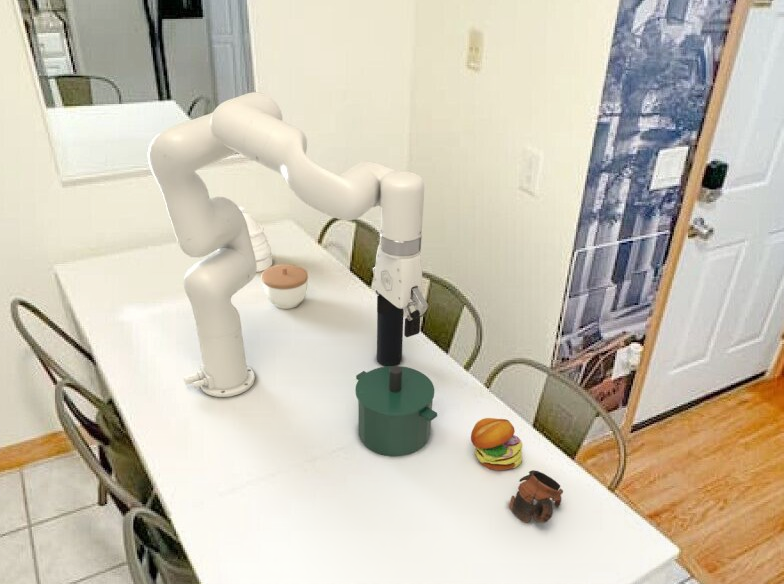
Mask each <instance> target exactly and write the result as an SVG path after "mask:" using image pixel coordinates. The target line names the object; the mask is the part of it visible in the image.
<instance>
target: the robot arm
mask: <svg viewBox="0 0 784 584" xmlns="http://www.w3.org/2000/svg"><path fill="white" fill-rule="evenodd" d="M307 149H308V138H307V136H306V133H305V132H304V131H303V130H302V129H300V128H298V127H296V126H293V125H292V124H289V123H287V122H286V121H283V114H282V111H281V108H280V106H279V105H278V103H277V102H276V100H274V99H273V98H272V97H270V96H269V95H267V94H265V93H262V92H257V91H253V92H248V93H244V94H242V95H239V96H236V97H232V98H230V99H227V100H225V101H223V102H221V103H220V104H219V105H217V106H216V108H214V110H213V112H210V113H208V114H205V115H202V116H199V117H196V118H193V119H190V120H186V121H183V122H180V123H178V124H175V125H173V126H170V127H168V128H166V129H164V130H163V131H161V132H160V133H158V134H157V135H156V136H155V137H154V138H153V139H152V140H151V142H150V144H149V147H148V150H147V151H148V152H147V160H148V164H149V167H150V170H151V173H152V176H153V177H154V179H155V181H156V183H157V185H158V188H159V190H160V192H161V194H162V198H163V200H164V204H165V208H166V211H167V213H168V217H169V220H170V222H171V226H172V229H173V232H174V235H175V238H176V241H177V243H178V246H179V248H180V250H181V251H182V252H183V253H184V254H185V255H186V256H188V257H190V258H197V259H198V258H203V257H204V258H203V259H201V260H199V261H198V262H196V263H195V264H194V265H192V266H191V267H190V268H189V269H188V270H187V272H186V273H185V276H184V278H183V290H184V292H185V294H186V297H187V300H188V301H189V304H190V307H191V311H192V315H193V317H194V318H193V319H194V322H195V328H196V332H197V339H198V343H199V349H200V356H201V360H202V365H200V366H199V369H200V370H199V371H196V373H194V374H190V375H187V376H184V377H182V379H183V382H184V384H185V385H186V386H188V385H191V384H192V386H193V388H194V389H197V388H199V387H200V389H201V391H202V392H203V393H205V394H206V395H209V396H211V397H216V398H230V397H235V396H237V395H241V394H242V393H245V392H246V391H248V390H249V389H250V388H251V387H252V386H253V385H254V384H255V381H256V376H255V372H254V370H253V369H252V368H251V367H250V366H249V365H247V362H246V361H247V359H246V352H245V345H244V337H243V330H242V323H241V316H240V313H239V311H238V309H237V307H236V306H235V304H233V303H232V297H233V296H234V295H235V294H237V293H238V292H239V291H240V290H241V289H243V288H244V287H246V286H247V285H248V284H249V283H250V282H251V281H253V279H254V278H255V276H256V274H257V272H256V270H257V265H256V259H255V255H254V251H253V246H252V243H251V239H250V235H249V231H248V227H247V223H246V220H245V217H244V215H243V213H242V211H241V210H240V208H239V207H240V206H238V205H237V204H236V203H235V202H234V201H233V200H231V199H230V198H228V197H225V196H215V197H212V198H210V195H209V190H208V187H207V186H206V183H205V182H204V180H203V179H202V177H201V176H200V175H199V174H198V173H197V172H196V171H198V170H201V169H204V168H206V167H208V166H210V165H212V164H215V163H217V162H220V161H222V160H225V159H226V158H229V157H231V156H233V155H235V154H237V153H238V154H240V155H242V156H243V157H246V158H247V159H250V160H251V161H254V162H255V163H258V164H260V165H262V166H263V167H266V168H268V169H270V170H272V171H274V172H276V173H278V174H279V175H281V176H282V177H283V179H284V180H285V183H286V184H287V185H288V187H289V189H290V190H291V191H292V192H293V193H294V194H295V196H296V197H297V198H298V199H299V200H300V201H302V202H303V203H304V204H305V205H308V206H309V207H311V208H313V209H314V210H317V211H319V212H321V213H323V214H325V215H327V216H329V217H331V218H334V219H337V220H340V221H354V220H357V219H359V218H361V217H362V216H363V215H364V214H366V213H367V212H368V211H370V210H371V209H372V208H376V207H378V206H379V243H378V246H377V251H376V256H375V264H374V267H372V273H373V278H374V279H373V282H374V285H373V286H374V289H375V294H376V295H377V296H376V305H377V306H376V314H377V313H378V314H382V313H386V312H389V311H391V310H392V304H393V305H395V306H396V307H397V308H400V309H402V308H403V310H404V314H405V317H406V318H404V326H403V337H404V338H410V337H412V336H415V335H418V334H420V331H421V318H423V316H424V315H426V311H427V310H428V309H429V304H428V302H427V301H426V299H425V297H424V296H423V264H422V255H421V252H422V240H423V239H422V237H423V218H424V204H425V203H424V201H425V181H424V180H423V178H422V177H421V176H420V175H419V174H417V173H415V172H411V171H406V170H395V169H393V168H390V167H388V166H385V165H383V164H380V163H378V162H375V161H370V160H369V161H368V160H367V161H366V160H365V161H361V162H358V163H357V164H355V165H354V166H352V167H350V168H349V169H347V170H345V171H344V172H342V173H340V174H336V173H334V172H331V171H329V170H327V169H325V168H323V167H321V166H320V165H318V164H316V163H315V162H313V161H312V160H311V159H310V158H309V157H308V156H307ZM205 256H206V257H205ZM410 300H411V301H410ZM412 306H413V307H414V310H413V311H411V308H410V307H412Z"/></svg>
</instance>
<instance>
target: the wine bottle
mask: <svg viewBox="0 0 784 584" xmlns="http://www.w3.org/2000/svg"><path fill="white" fill-rule="evenodd" d="M376 314H377V315H376V361H377V363H378V364H379V365H381V366H382V367H385V366H399V365H400V364H401V363H402V361H403V342H404V341H403V340H404V339H403V338H404V315H405V310H404V308H402V309H400V308H397V307H396V306H395V305H393V304H392V310H391V311H389V312H386V313H382V314H378V313H377V312H376Z"/></svg>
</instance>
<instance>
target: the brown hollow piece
mask: <svg viewBox="0 0 784 584" xmlns="http://www.w3.org/2000/svg"><path fill="white" fill-rule="evenodd" d="M528 473H529V474H527V475H524V476H522V477H521V478H520V479H519V480H518V482H519V483H520V484H519V485H518V487H517V488H518V491H517V492H516V495H512V496H511V498H510V501H509V505H508V506H509V509H510V510H511V512H512V513H513V514H514V516H516V517H517V518H518V519H519V520H521V521H522V522H524V523H527V524H528V523H529V522H530V520H531V519H532V520H533V521H534V522H535V523H540V524H545V523H547V522H549V521H550V520H551V519H552V516H553V514H554V507H553V505H555V506H556V507H557V508H560V505H561V502H562V494H563V493H564V490H563V489H562V488H561V484H560V483H558V482H557V481H556V480H555V479H554V478H552V477H551V476H549V475H547V474H545V473H544V472H541V471H539V470H535V469H534V470H533V469H531V470H530V471H529V472H528ZM534 501H536V504H535V503H534ZM553 502H554V503H553Z"/></svg>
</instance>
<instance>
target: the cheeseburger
mask: <svg viewBox="0 0 784 584" xmlns="http://www.w3.org/2000/svg"><path fill="white" fill-rule="evenodd" d="M515 431H516V430H515V427H514V424H512V423H511V421H510V420H508V419H507V418H495V417H485V418H482V419H480V420H478V421H477V422H476V423H475V424H474V427H473V428H472V430H471V432H470V433H471V434H470V442H471V443H472V445H473V446H474V448H475V449H474V454H475V457H476V458H477V460H478V461H479V462H480V463H481V465H482V466H484V467H486V468H487V469H490V470H496V471H505V470H511V469H515V468H517V467H518V466H519V465H521V464H522V461H523V456H522V455H523V454H522V453H523V452H522V449H523V442H522V440H521V439H520V437H518V436H517V435H515Z"/></svg>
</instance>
